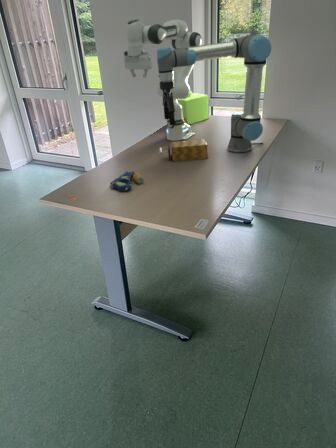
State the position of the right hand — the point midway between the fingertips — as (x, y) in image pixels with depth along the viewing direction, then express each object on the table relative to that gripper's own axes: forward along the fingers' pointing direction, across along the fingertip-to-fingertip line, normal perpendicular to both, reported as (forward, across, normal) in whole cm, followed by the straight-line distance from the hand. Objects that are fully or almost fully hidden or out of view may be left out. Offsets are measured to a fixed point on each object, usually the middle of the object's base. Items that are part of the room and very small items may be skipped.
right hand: (169, 121), depth 186 cm
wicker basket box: (+27, -13, +13) cm, 33 cm away
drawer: (+26, -14, +8) cm, 30 cm away
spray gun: (+27, +15, -28) cm, 42 cm away
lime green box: (+27, -100, +37) cm, 110 cm away
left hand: (-20, -36, -10) cm, 42 cm away
